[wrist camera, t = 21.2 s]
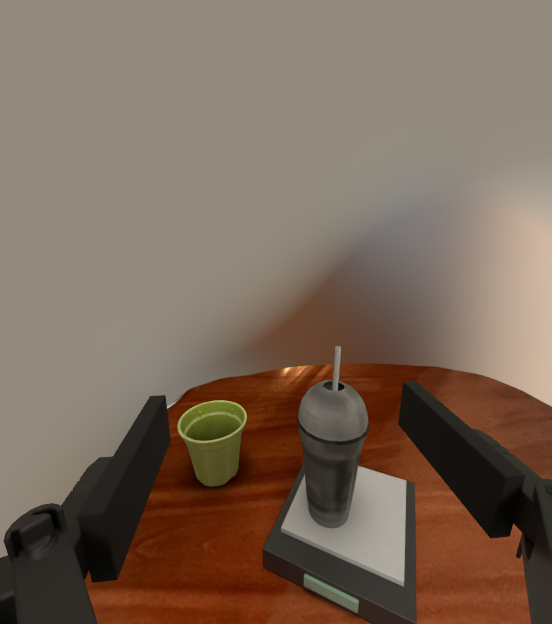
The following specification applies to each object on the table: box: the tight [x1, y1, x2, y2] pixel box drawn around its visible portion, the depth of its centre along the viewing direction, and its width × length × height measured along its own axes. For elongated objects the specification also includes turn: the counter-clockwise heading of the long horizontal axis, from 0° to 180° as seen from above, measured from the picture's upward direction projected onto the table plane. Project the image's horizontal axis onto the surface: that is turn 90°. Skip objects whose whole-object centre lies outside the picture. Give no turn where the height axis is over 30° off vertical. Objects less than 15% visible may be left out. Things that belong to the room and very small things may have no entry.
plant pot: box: [178, 400, 247, 487], centre depth 41 cm, size 9×9×9 cm
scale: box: [263, 463, 416, 624], centre depth 32 cm, size 14×15×3 cm
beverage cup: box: [297, 346, 369, 529], centre depth 30 cm, size 7×7×20 cm
